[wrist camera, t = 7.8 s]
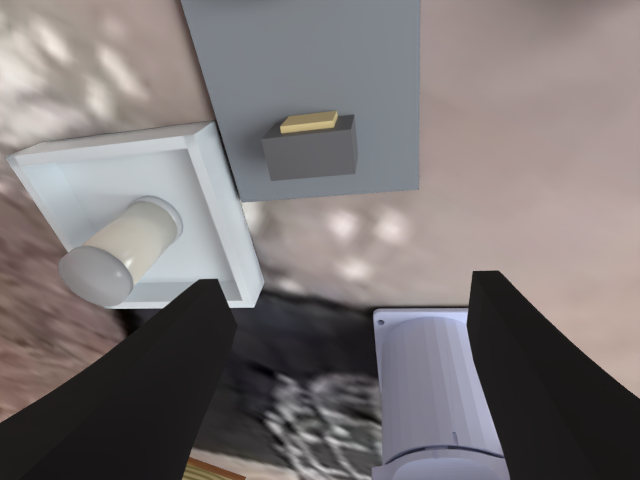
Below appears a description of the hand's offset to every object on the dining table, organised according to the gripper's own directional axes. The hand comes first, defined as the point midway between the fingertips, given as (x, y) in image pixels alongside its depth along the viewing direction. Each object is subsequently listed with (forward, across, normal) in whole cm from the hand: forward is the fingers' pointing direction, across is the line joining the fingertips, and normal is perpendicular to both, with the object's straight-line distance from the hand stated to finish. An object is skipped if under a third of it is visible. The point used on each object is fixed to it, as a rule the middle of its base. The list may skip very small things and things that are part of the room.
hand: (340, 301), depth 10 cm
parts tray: (+10, +13, +2) cm, 17 cm away
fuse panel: (+10, +2, -6) cm, 12 cm away
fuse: (+10, +13, +2) cm, 16 cm away
